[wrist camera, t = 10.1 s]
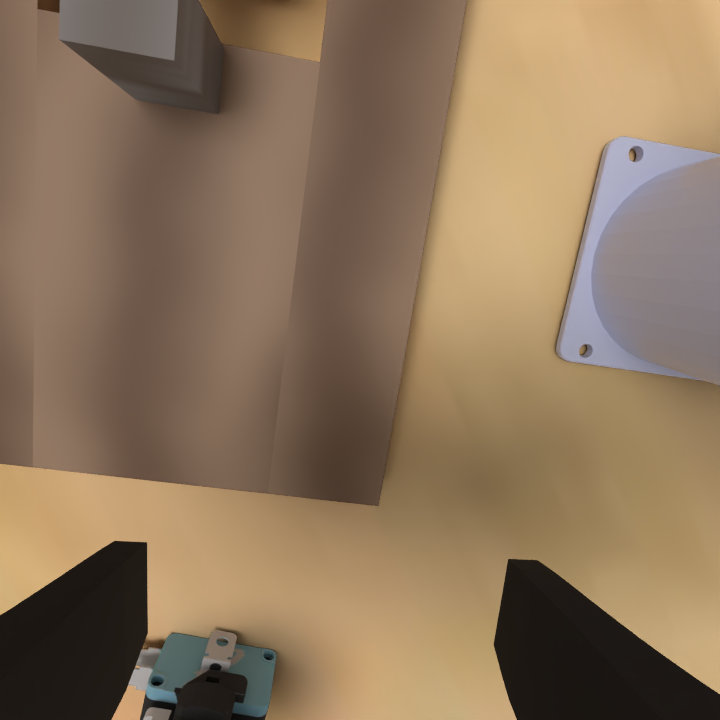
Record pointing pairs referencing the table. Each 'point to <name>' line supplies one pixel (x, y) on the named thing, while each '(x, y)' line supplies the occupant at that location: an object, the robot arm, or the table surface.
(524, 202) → the table surface
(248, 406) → the slotted shelf
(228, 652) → the push button
